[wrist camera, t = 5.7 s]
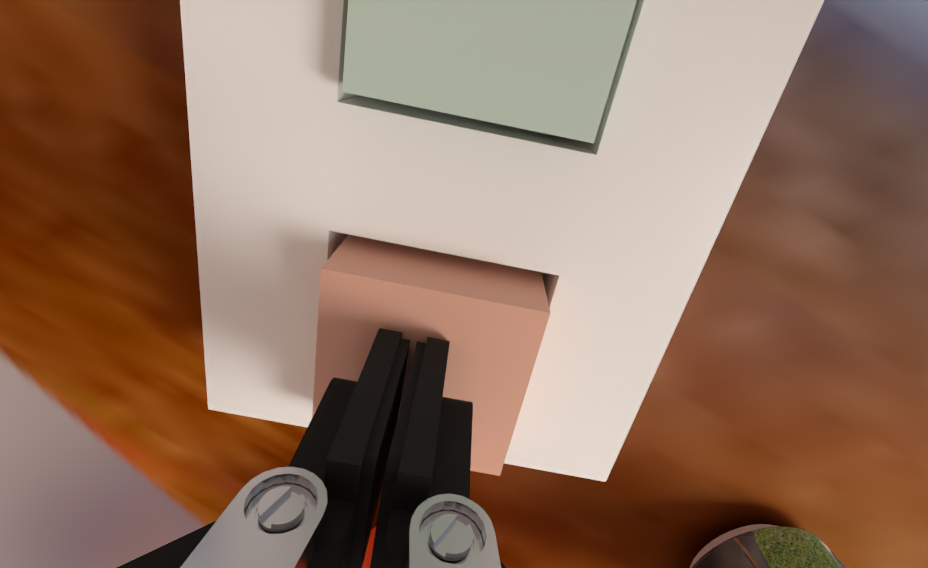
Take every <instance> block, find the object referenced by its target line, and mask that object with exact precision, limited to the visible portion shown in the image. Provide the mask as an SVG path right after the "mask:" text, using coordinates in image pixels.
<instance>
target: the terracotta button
mask: <svg viewBox="0 0 928 568" xmlns="http://www.w3.org/2000/svg"><path fill="white" fill-rule="evenodd" d="M549 316H550V309H549V304H548V300H547V295H546V291H545V287H544V282H543V278H542V273H541V272H538V271H533V270H528V269H523V268H518V267H513V266H507V265H502V264H497V263H492V262H487V261H482V260H477V259H472V258H467V257H462V256H456V255H451V254H446V253H441V252H436V251H431V250H426V249H421V248H416V247H411V246H405V245H400V244H395V243H390V242H385V241H380V240H375V239H370V238H365V237H360V236H354V235H348V236H347V237H346V239H345V240H344V241H343V242H342V243H341V245H340V246H339V247H338V248H337V249H336V251H335V252H334V253H333V254H332V256H331V257H330V258H329V259H328V260H327V262H326V263H325V264H324V265H323V266H322V268H321V273H320V291H319V308H318V325H317V343H316V360H315V377H314V395H313V412H312V418H313V416H314V414H315V411H316V409H317V407H318V405H319V403H320V401H321V399H322V397H323V395H324V393H325V391H326V389H327V387H328V385H329V383H330V381H331V380H332V378H334V377H335V378H341V379H346V380H352V381H357V382H358V379H359V377H360V374H361V372H362V369H363V367H364V364H365V362H366V359H367V357H368V354H369V352H370V349H371V347H372V344H373V342H374V339H375V337H376V335H377V332H378V330H379V328H382V329H387V330H393V331H398V332H402V339H408V340H410V345H409V351H408V358H407V364H406V370H405V376H404V382H403V388H402V394H401V401H400V407H399V412H400V408H401V404H402V400H403V396H404V392H405V388H406V384H407V380H408V376H409V372H410V368H411V364H412V360H413V356H414V352H415V348H416V344H417V341H418V342H424V343H426V341H427V337H431V338H436V339H442V340H447V341H450V344H449V352H448V359H447V367H446V374H445V382H444V389H443V397H447V398H452V399H458V400H463V401H469V402H472V403H473V418H472V442H471V467H470V471H475V472H481V473H486V474H492V475H497V476H500V474H501V471H502V468H503V464H504V461H505V458H506V455H507V451H508V448H509V445H510V442H511V439H512V435H513V432H514V429H515V426H516V422H517V419H518V416H519V413H520V410H521V406H522V403H523V400H524V397H525V393H526V390H527V387H528V384H529V381H530V377H531V374H532V371H533V368H534V364H535V361H536V358H537V355H538V352H539V348H540V345H541V342H542V339H543V335H544V332H545V329H546V326H547V323H548V319H549ZM398 416H399V413H398ZM397 420H398V419H397Z"/></svg>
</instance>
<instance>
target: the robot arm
mask: <svg viewBox="0 0 928 568" xmlns="http://www.w3.org/2000/svg"><path fill="white" fill-rule="evenodd" d="M449 344H450V341H447V340H442V339H436V338H431V337H427V341H426V343H424V342H418V341H417V344H416V348H415V352H414V356H413V360H412V364H411V368H410V372H409V376H408V380H407V384H406V388H405V392H404V396H403V400H402V404H401V408H400V412H399V407H400V401H401V394H402V388H403V382H404V376H405V370H406V364H407V358H408V351H409V345H410V340H408V339H402V332H398V331H393V330H387V329H382V328H379V330H378V332H377V335H376V337H375V339H374V342H373V344H372V347H371V349H370V352H369V354H368V357H367V359H366V362H365V364H364V367H363V369H362V372H361V374H360V377H359V379H358V382H357V381H352V380H346V379H341V378H335V377H334V378H332V380H331V381H330V383H329V385H328V387H327V389H326V391H325V393H324V395H323V397H322V399H321V401H320V403H319V405H318V407H317V409H316V411H315V414H314V416H313V418H312V420H311V422H310V424H309V426H308V428H307V430H306V432H305V434H304V436H303V438H302V440H301V442H300V444H299V446H298V448H297V450H296V452H295V454H294V456H293V459H292V461H291V463H290V465H289V467H280V468H275V469H272V470H269V471H265V472H263V473H261V474H260V475H258V476H256V477H254V478H253V479H251V480H250V481H249V482H248V483H247V484H246V485H245V486H244V487H243V488H242V489H241V490H240V491H239V493H238V494H237V495H236V497H235V498H234V499H233V500H232V502H231V503H230V504H229V506H228V507H227V508H226V509H225V511H224V512H223V513H222V515H221V516H220V517H219V518H218V520H217V521H215V522H213V523H210V524H208V525H206V526H204V527H202V528H200V529H198V530H196V531H194V532H192V533H189V534H187V535H185V536H183V537H181V538H179V539H177V540H175V541H172V542H170V543H168V544H166V545H164V546H162V547H160V548H158V549H156V550H153V551H151V552H149V553H147V554H145V555H143V556H141V557H139V558H137V559H135V560H132V561H130V562H128V563H126V564H124V565H122V566H120V567H117V568H362V566H363V562H364V558H365V554H366V550H367V546H368V542H369V538H370V534H371V529H372V525H373V521H374V517H375V513H376V509H377V505H378V501H379V497H380V493H381V489H382V493H381V500H380V506H379V512H378V519H377V525H376V531H375V538H374V544H373V550H372V557H371V563H370V568H506V567H505V566H504V565H503V564H502V562H501V561H500V558H499V552H498V547H497V541H496V535H495V531H494V528H493V525H492V522H491V519H490V518H489V516H488V515H487V514H486V512H485V511H484V509H482V508H481V507H480V506H479V505H478V504H476V503H475V502H474V501H472V500H470V499H469V491H470V467H471V442H472V418H473V403H472V402H469V401H463V400H458V399H452V398H447V397H443V389H444V382H445V374H446V367H447V359H448V352H449ZM398 413H399V416H398ZM397 419H398V420H397ZM382 485H383V487H382Z"/></svg>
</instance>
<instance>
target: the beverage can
mask: <svg viewBox="0 0 928 568" xmlns="http://www.w3.org/2000/svg"><path fill="white" fill-rule="evenodd" d="M690 568H845V567H844V565H843V564H842V563H841V562H840V561H839V560H838V558H837V557H836V556H835V555H834V554H833V553H832V552H831V550H830V549H829V548H828V547H827V546H826V545H825V543H824V542H823V541H822V540H821V539H820V538H819V537H817V536H816V535H814V534H813V533H811V532H809V531H806V530H803V529H800V528H794V527H779V526H776V525H770V524H755V525H748V526H744V527H740V528H737V529H734V530H731V531H729V532H727V533H724V534H722V535H720V536H719V537H717V538H715V539H714V540H712V541H711V542H710V543H708V544H707V545H706V546H704V547H703V548H702V549H701V550H700V551H699V552H698V554H697V555H696V556H695V558H694V559H693V561H692V563H691V565H690Z"/></svg>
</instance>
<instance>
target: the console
mask: <svg viewBox="0 0 928 568" xmlns="http://www.w3.org/2000/svg"><path fill="white" fill-rule="evenodd" d="M823 2H824V0H637V2H636V5H635V9H634V12H633V15H632V19H631V22H630V25H629V29H628V32H627V35H626V39H625V42H624V45H623V49H622V52H621V55H620V58H619V62H618V65H617V68H616V72H615V75H614V78H613V82H612V85H611V88H610V92H609V95H608V98H607V102H606V105H605V108H604V111H603V115H602V118H601V121H600V125H599V128H598V131H597V135H596V138H595V141H594V143H589V142H584V141H579V140H574V139H569V138H564V137H560V136H555V135H550V134H545V133H540V132H535V131H530V130H526V129H521V128H516V127H511V126H506V125H501V124H496V123H491V122H487V121H482V120H477V119H472V118H467V117H462V116H457V115H453V114H448V113H443V112H438V111H433V110H428V109H423V108H418V107H414V106H409V105H404V104H399V103H394V102H389V101H384V100H380V99H375V98H370V97H365V96H360V95H355V94H350V93H345V92H342V85H343V70H344V55H345V40H346V25H347V10H348V0H180V10H181V24H182V39H183V53H184V67H185V82H186V96H187V111H188V125H189V140H190V154H191V168H192V183H193V197H194V212H195V226H196V240H197V255H198V269H199V284H200V298H201V313H202V327H203V341H204V356H205V370H206V385H207V399H208V409H209V410H215V411H220V412H226V413H231V414H237V415H242V416H248V417H253V418H259V419H264V420H270V421H275V422H281V423H286V424H291V425H297V426H302V427H308V426H309V424H310V422H311V420H312V412H313V395H314V377H315V360H316V343H317V325H318V308H319V291H320V273H321V268H322V266H323V265H324V264H325V263H326V262H327V260H328V259H329V258H330V257H331V256H332V254H333V253H334V252H335V251H336V249H337V248H338V247H339V246H340V245H341V243H342V242H343V241H344V240H345V239H346V237H347V236H348V235H354V236H360V237H365V238H370V239H375V240H380V241H385V242H390V243H395V244H400V245H405V246H411V247H416V248H421V249H426V250H431V251H436V252H441V253H446V254H451V255H456V256H462V257H467V258H472V259H477V260H482V261H487V262H492V263H497V264H502V265H507V266H513V267H518V268H523V269H528V270H533V271H538V272H541V273H542V278H543V282H544V287H545V291H546V295H547V300H548V304H549V309H550V316H549V319H548V323H547V326H546V329H545V332H544V335H543V339H542V342H541V345H540V348H539V352H538V355H537V358H536V361H535V364H534V368H533V371H532V374H531V377H530V381H529V384H528V387H527V390H526V393H525V397H524V400H523V403H522V406H521V410H520V413H519V416H518V419H517V422H516V426H515V429H514V432H513V435H512V439H511V442H510V445H509V448H508V451H507V455H506V458H505V461H504V463H505V464H510V465H516V466H521V467H527V468H532V469H538V470H543V471H549V472H554V473H559V474H565V475H570V476H576V477H581V478H587V479H592V480H598V481H603V482H606V480H607V478H608V476H609V474H610V471H611V469H612V467H613V465H614V463H615V460H616V458H617V456H618V454H619V452H620V449H621V447H622V445H623V443H624V441H625V438H626V436H627V434H628V432H629V430H630V427H631V425H632V423H633V421H634V419H635V416H636V414H637V412H638V410H639V408H640V405H641V403H642V401H643V399H644V397H645V394H646V392H647V390H648V388H649V386H650V383H651V381H652V379H653V377H654V375H655V372H656V370H657V368H658V366H659V364H660V361H661V359H662V357H663V355H664V353H665V350H666V348H667V346H668V344H669V342H670V339H671V337H672V335H673V333H674V331H675V328H676V326H677V324H678V322H679V320H680V317H681V315H682V313H683V311H684V309H685V306H686V304H687V302H688V300H689V297H690V295H691V293H692V291H693V289H694V286H695V284H696V282H697V280H698V278H699V275H700V273H701V271H702V269H703V267H704V264H705V262H706V260H707V258H708V256H709V253H710V251H711V249H712V247H713V245H714V242H715V240H716V238H717V236H718V234H719V231H720V229H721V227H722V225H723V223H724V220H725V218H726V216H727V214H728V212H729V209H730V207H731V205H732V203H733V201H734V198H735V196H736V194H737V192H738V190H739V187H740V185H741V183H742V181H743V179H744V176H745V174H746V172H747V170H748V168H749V165H750V163H751V161H752V159H753V157H754V154H755V152H756V150H757V148H758V146H759V143H760V141H761V139H762V137H763V134H764V132H765V130H766V128H767V126H768V123H769V121H770V119H771V117H772V115H773V112H774V110H775V108H776V106H777V104H778V101H779V99H780V97H781V95H782V93H783V90H784V88H785V86H786V84H787V82H788V79H789V77H790V75H791V73H792V71H793V68H794V66H795V64H796V62H797V60H798V57H799V55H800V53H801V51H802V49H803V46H804V44H805V42H806V40H807V38H808V35H809V33H810V31H811V29H812V27H813V24H814V22H815V20H816V18H817V16H818V13H819V11H820V9H821V7H822V5H823Z"/></svg>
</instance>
